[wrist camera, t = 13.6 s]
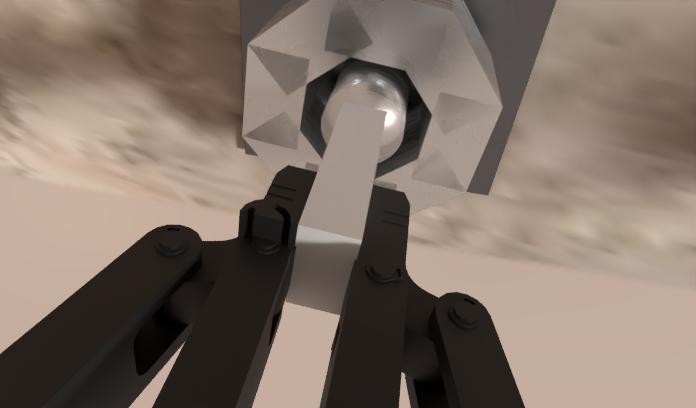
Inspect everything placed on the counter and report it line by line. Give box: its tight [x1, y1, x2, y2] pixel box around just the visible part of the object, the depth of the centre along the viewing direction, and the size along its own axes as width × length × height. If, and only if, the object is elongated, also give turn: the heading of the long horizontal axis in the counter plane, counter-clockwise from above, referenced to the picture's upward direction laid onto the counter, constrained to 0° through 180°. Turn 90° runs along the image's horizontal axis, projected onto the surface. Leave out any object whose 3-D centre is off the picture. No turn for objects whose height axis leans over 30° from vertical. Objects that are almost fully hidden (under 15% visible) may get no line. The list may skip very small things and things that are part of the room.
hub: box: [240, 0, 556, 195], centre depth 21 cm, size 14×14×8 cm
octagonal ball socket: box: [242, 0, 503, 215], centre depth 20 cm, size 9×9×5 cm
